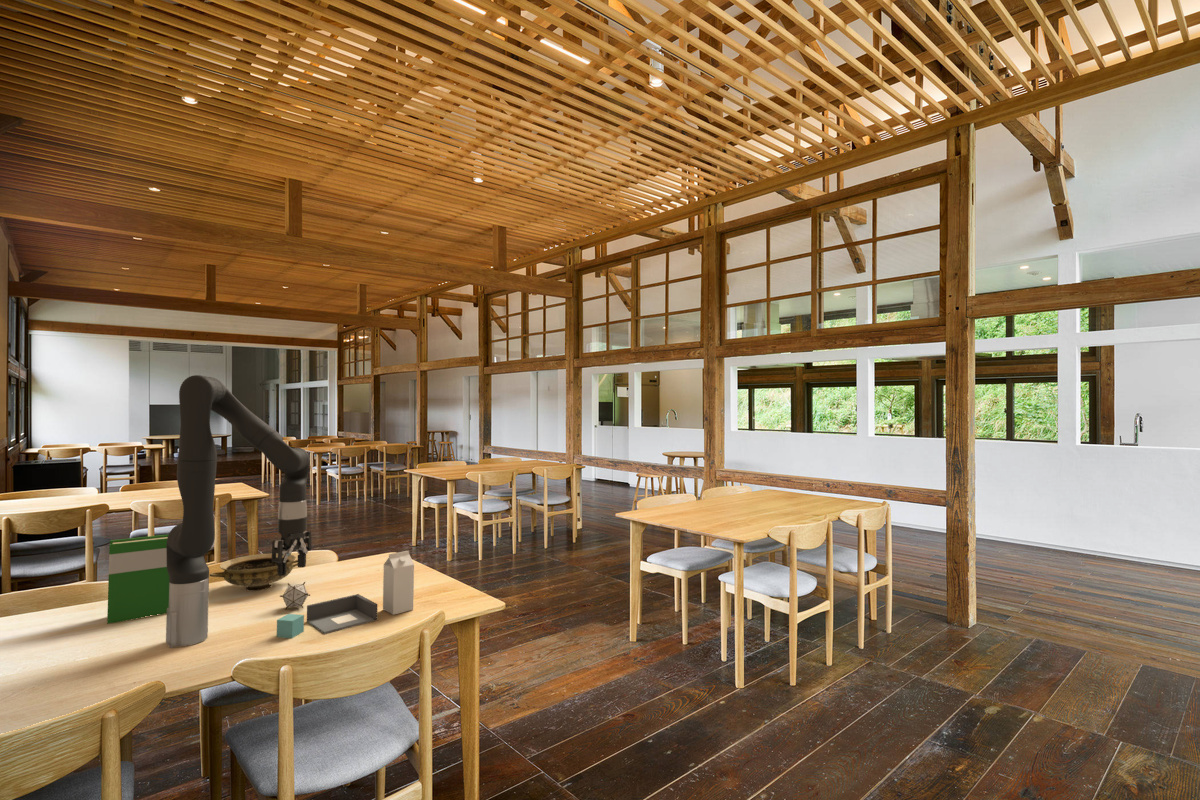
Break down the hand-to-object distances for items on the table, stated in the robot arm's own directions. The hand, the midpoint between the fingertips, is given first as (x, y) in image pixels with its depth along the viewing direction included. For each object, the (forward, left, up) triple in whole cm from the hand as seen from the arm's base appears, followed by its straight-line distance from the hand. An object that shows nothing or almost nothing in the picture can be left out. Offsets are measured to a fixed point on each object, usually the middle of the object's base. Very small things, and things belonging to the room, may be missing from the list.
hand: (292, 571), depth 169 cm
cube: (0, 0, -19) cm, 19 cm away
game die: (+9, +23, -19) cm, 31 cm away
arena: (+15, 0, -18) cm, 24 cm away
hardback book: (-27, +50, -19) cm, 60 cm away
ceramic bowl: (+7, +55, -19) cm, 58 cm away
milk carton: (+32, -3, -19) cm, 37 cm away
